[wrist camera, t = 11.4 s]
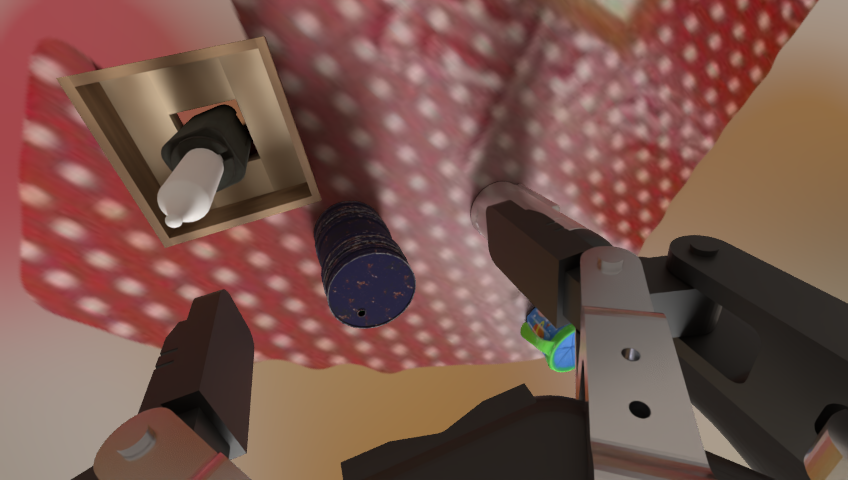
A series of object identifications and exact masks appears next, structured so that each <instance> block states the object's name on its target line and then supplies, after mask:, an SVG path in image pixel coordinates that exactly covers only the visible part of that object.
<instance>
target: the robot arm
mask: <svg viewBox="0 0 848 480" xmlns="http://www.w3.org/2000/svg"><path fill="white" fill-rule="evenodd" d="M471 221H472V224H473V226H474V228H475V229H476V230H477V231H478V232H479V233H480V234H481V235H482V236H483V237H484V238H486V239H487V240H488V247H489V252H490V255H491V258H492V260H493V262H494V263H495V265H496V266H497V267H498V268H499V269H500V270H501V271H502V272H503V273H504V274H505V275H506V276H507V277H508V278H509V280H510V281H511V282H512V283H513V284H514V285H515V286H516V287H517V288H518V289H519V290H520V291H521V292H522V293H523V294H524V295H525V296H526V297H527V298H528V299H529V301H530V302H531V303H532V304H533V305H534V306H535V307H536V308H537V309H538V310H539V311H540V312H541V313H542V314H543V315H544V316H545V317H546V318H547V319H548V321H549V322H550V323H551V324H552V325H553V326H554V327H555V328H556V329H557V328H560V327H562V326H565V325H567V324H570V323H571V324H572V325H573V326H574V327H575V399H574V398H569V397H564V396H552V395H549V396H548V395H547V396H533V395H532V394H531V392H530V391H529V389H528V388H527V387H526V385H525V384H522V385H519V386H517V387H515V388H512V389H510V390H508V391H506V392H503V393H501V394H499V395H496V396H494V397H492V398H489V399H487V400H485V401H483V402H481V403H480V404H479V405H477V406H476V407H475V408H474V409H472V410H471V411H470V412H468V413H467V414H466V415H465V416H463V417H462V418H461V419H460V420H458V421H457V422H456V423H454V424H453V425H452V426H450V427H449V428H448V429H447V430H445V431H444V432H441V433H438V434H432V435H427V436H421V437H414V438H408V439H402V440H397V441H390V442H387V443H385V444H383V445H381V446H378V447H376V448H374V449H371V450H369V451H367V452H364V453H362V454H360V455H358V456H355V457H353V458H350V459H348V460H346V461H343V462H341V468H342V475H343V480H848V303H845V302H843V301H842V300H840V299H838V298H836V297H833V296H831V295H830V294H828V293H826V292H824V291H821V290H820V289H818V288H816V287H814V286H812V285H810V284H808V283H806V282H804V281H802V280H800V279H798V278H796V277H794V276H792V275H790V274H788V273H786V272H784V271H782V270H780V269H778V268H776V267H774V266H772V265H770V264H768V263H766V262H764V261H762V260H760V259H758V258H756V257H754V256H752V255H750V254H748V253H746V252H744V251H742V250H740V249H738V248H736V247H734V246H732V245H730V244H728V243H726V242H724V241H722V240H719V239H716V238H712V237H707V236H700V235H690V236H682V237H679V238H676V239H675V240H673V241H672V242H671V244H670V247H669V251H668V256H660V257H652V258H647V257H637V256H636V255H635V254H634V253H632V252H630V251H628V250H625V249H622V248H619V247H613V246H612V245H611V244H610V243H609V242H608V241H607V240H606V239H604V238H603V237H601V236H600V235H598V234H596V233H595V232H593V231H591V230H589V229H587V228H586V227H584V226H582V225H581V224H579V223H577V222H576V221H574V220H572V219H570V218H569V217H567V216H565V215H564V214H562V213H560V208H559V206H558V205H557V204H555V203H554V202H552V201H550V200H549V199H547V198H545V197H543V196H542V195H540V194H538V193H536V192H535V191H533V190H531V189H529V188H528V187H526V186H524V185H522V184H517V185H514V184H512V183H509V182H504V181H502V182H496V183H493V184H491V185H489V186H487V187H486V188H485V189H483V190H482V191H481V192H480V193H479V195H478V196H477V197H476V199H475V201H474V203H473V205H472V209H471ZM160 354H161V356H160V357H159V358H158V361H157V363H156V369H155V370H154V372H153V374H152V377H151V380H150V382H149V385H148V388H147V391H146V393H145V396H144V399H143V402H142V405H141V407H140V410H139V412H138V414H137V415H135V416H134V417H132V418H130V419H129V420H127V421H126V422H125V423H123V424H122V425H121V426H120V427H118V428H117V429H116V430H115V431H114V432H113V433H112V434H111V435H110V436H109V437H108V438H107V439H106V440H105V442H104V443H103V444H102V446H101V447H100V449H99V451H98V452H97V454H96V457H95V460H94V464H93V466H92V467H91V468H89V469H88V470H86V471H84V472H83V473H81V474H79V475H78V476H76V477H75V478H73V479H71V480H251V479H250V478H249V477H248V476H247V475H246V474H245V473H244V472H242V471H241V470H240V469H239V468H238V467H237V466H236V465H235V464H234V463H232V462H231V461H230V460H232V459H234V458H237V457H239V456H241V455H244V454H246V453H247V441H248V428H249V415H250V400H251V387H252V373H253V360H254V343H253V338H252V335H251V332H250V330H249V328H248V326H247V324H246V323H245V321H244V319H243V317H242V315H241V314H240V312H239V310H238V308H237V307H236V305H235V303H234V301H233V300H232V298H231V296H230V294H229V293H228V292H227V291H226V290H224V289H223V290H220V291H217V292H213V293H210V294H207V295H204V296H201V297H198V298H195V299H194V300H193V303H192V306H191V309H190V312H189V315H188V318H187V320H185V321H182V322H179V323H178V324H177V325H176V327H175V328H174V329H173V330H172V331H171V333H170V334H169V335H168V336H167V337H166V339H165V342H164V344H163V347H162V350H161V353H160ZM691 404H692V405H694V406H695V407H696V408H697V409H698V410H699V411H700V412H701V413H702V414H703V415H704V416H705V417H706V418H707V419H708V420H709V421H710V422H712V423H713V425H714V426H715V427H716V428H717V429H718V430H719V431H720V432H721V433H722V434H723V436H724V437H725V438H726V439H727V440H728V441H729V442H730V444H731V445H732V446H733V447H734V448H735V449H736V451H737V452H738V453H739V454H740V455H741V456H742V458H743V459H744V460H745V461H746V462H747V464H748V465H749V466H750V467H751V468H752V469H749V468H747V467H744V466H742V465H740V464H737V463H735V462H732V461H730V460H727V459H725V458H722V457H720V456H717V455H715V454H713V453H710V452H708V451H705V450H704V447H703V444H702V441H701V437H700V433H699V430H698V426H697V423H696V419H695V416H694V412H693V409H692V405H691Z"/></svg>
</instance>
